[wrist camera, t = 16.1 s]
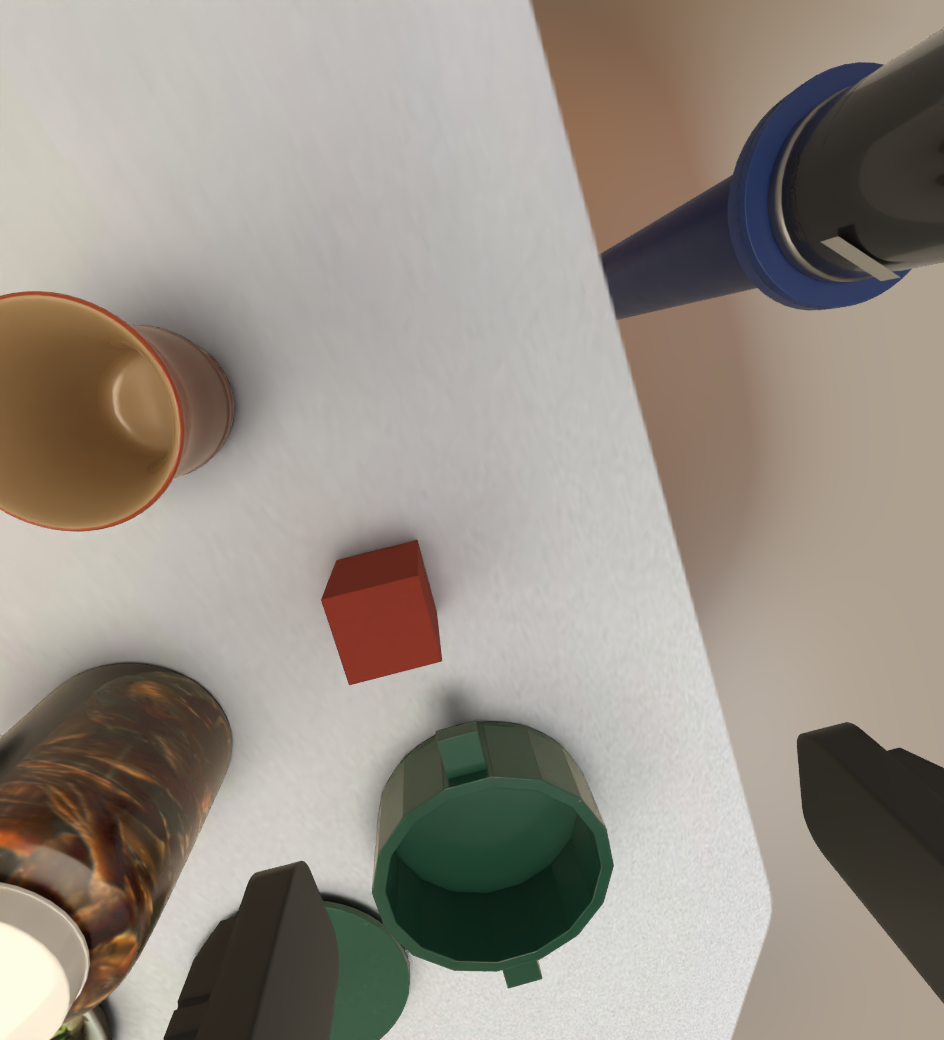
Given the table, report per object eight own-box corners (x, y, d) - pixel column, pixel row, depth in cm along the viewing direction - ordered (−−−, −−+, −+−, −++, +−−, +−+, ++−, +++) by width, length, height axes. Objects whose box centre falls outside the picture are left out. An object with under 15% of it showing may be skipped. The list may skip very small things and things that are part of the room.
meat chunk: (417, 539, 34) (418, 574, 28) (437, 613, 36) (442, 661, 30) (336, 560, 34) (320, 599, 28) (359, 633, 35) (348, 685, 30)
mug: (257, 327, 30) (182, 308, 20) (253, 488, 32) (183, 541, 23) (10, 296, 29) (-199, 259, 19) (24, 467, 31) (-158, 514, 21)
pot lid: (378, 867, 40) (374, 930, 36) (431, 1020, 44) (434, 1094, 40) (159, 926, 40) (127, 998, 35) (234, 1076, 44) (214, 1157, 39)
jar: (79, 627, 33) (-172, 825, 19) (263, 708, 36) (165, 936, 22) (4, 780, 36) (-274, 1062, 21) (184, 846, 38) (45, 1138, 24)
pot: (559, 662, 37) (583, 710, 32) (606, 892, 43) (633, 965, 38) (341, 719, 37) (330, 777, 32) (418, 944, 42) (419, 1026, 37)
